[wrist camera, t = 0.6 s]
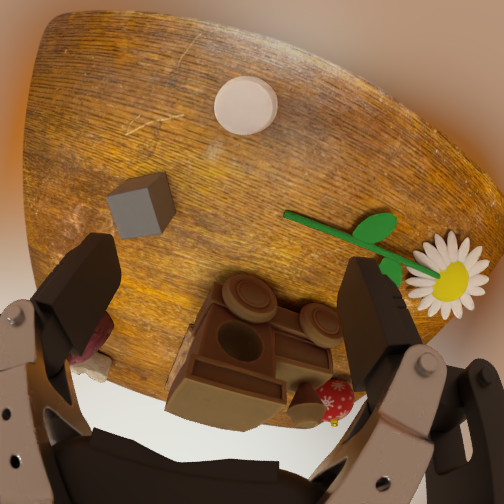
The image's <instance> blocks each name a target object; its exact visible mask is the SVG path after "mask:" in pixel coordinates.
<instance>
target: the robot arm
mask: <svg viewBox="0 0 504 504" xmlns="http://www.w3.org/2000/svg"><path fill="white" fill-rule="evenodd" d="M120 282H121V268H120V264H119V260H118V256H117V251H116V247H115V242H114V239H113V237H112V235H111V234H104V233H90V234H89V235H88V236H87V237H86V238H85V239H84V240H83V241H82V243H81V244H80V245H79V246H77V247H76V248H74V249H73V250H71V251H70V252H68V253H67V254H66V255H65V256H64V258H63V259H62V260H61V261H60V262H59V264H58V265H57V266H56V267H55V268H54V269H53V272H51V273H50V274H49V276H48V277H47V278H46V279H45V281H44V282H43V283H42V284H41V286H40V287H39V288H38V290H37V291H36V292H35V293H34V295H33V296H32V298H31V299H30V300H26V299H25V300H24V299H21V300H17V301H15V302H13V303H11V304H10V305H8V306H7V307H6V308H5V309H4V311H3V312H2V314H0V504H409V503H410V502H411V500H412V498H413V496H414V494H415V492H416V490H417V488H418V486H419V484H420V482H421V480H422V478H423V476H424V474H425V476H426V489H427V504H504V389H503V386H502V383H501V380H500V378H499V375H498V373H497V371H496V369H495V368H494V367H493V365H492V364H491V363H489V362H488V361H486V360H484V359H475V360H473V361H472V362H471V363H470V364H469V366H468V367H467V368H466V369H462V368H457V367H452V366H448V365H446V364H445V362H444V359H443V358H442V356H441V355H440V354H439V353H438V352H437V351H436V350H435V349H433V348H432V347H429V346H427V345H423V343H422V341H421V338H420V336H419V334H418V331H417V329H416V326H415V324H414V322H413V319H412V317H411V315H410V313H409V310H408V309H406V307H407V306H406V304H405V302H404V299H402V295H401V293H400V291H399V289H398V287H397V285H396V284H395V283H394V282H393V281H392V280H391V279H390V278H389V277H388V276H387V275H386V274H382V273H381V270H380V268H379V266H378V264H377V262H376V260H375V259H374V258H365V257H355V256H353V257H351V258H350V260H349V263H348V266H347V269H346V272H345V275H344V278H343V280H342V283H341V286H340V289H339V292H338V297H337V310H338V315H339V319H340V324H341V328H342V333H343V338H344V342H345V347H346V352H347V357H348V362H349V368H350V373H351V379H352V384H353V390H354V392H361V391H366V392H367V397H368V399H367V400H366V401H365V402H364V404H363V405H362V407H361V409H360V411H359V412H358V414H357V415H356V417H355V419H354V420H353V422H352V424H351V425H350V427H349V428H348V430H347V431H346V433H345V434H344V436H343V437H342V439H341V440H340V442H339V443H338V444H337V446H336V447H335V449H334V450H333V451H332V452H331V453H330V454H329V455H328V456H327V457H326V458H325V460H324V461H323V462H322V463H321V464H320V465H319V467H318V468H317V469H316V470H315V471H314V473H313V474H312V475H311V476H310V477H309V479H306V478H304V477H302V476H299V475H297V474H295V473H292V472H289V471H286V470H281V469H279V461H254V460H240V459H239V460H238V459H223V460H213V461H201V462H183V463H182V462H176V461H173V460H171V459H168V458H167V457H164V456H162V455H160V454H158V453H156V452H154V451H152V450H150V449H149V448H147V447H144V446H143V445H141V444H139V443H137V442H136V441H134V440H131V439H127V438H124V437H121V436H118V435H115V434H112V433H109V432H106V431H103V430H100V429H98V428H95V427H94V428H93V431H91V429H90V427H89V425H88V423H87V421H86V420H85V418H84V417H83V415H82V413H81V411H80V408H79V404H78V401H77V397H76V393H75V389H74V385H73V380H72V376H71V371H70V366H69V363H68V361H67V359H66V358H67V356H68V354H69V353H70V354H73V355H76V356H79V357H82V355H83V353H84V351H85V349H86V347H87V345H88V343H89V341H90V339H91V337H92V335H93V333H94V331H95V329H96V327H97V325H98V323H99V321H100V320H101V318H102V316H103V314H104V312H105V310H106V309H107V307H108V305H109V303H110V301H111V300H112V298H113V296H114V294H115V293H116V291H117V289H118V287H119V285H120ZM466 419H467V423H468V427H469V431H470V436H471V441H472V447H473V454H472V457H471V459H470V461H469V462H467V460H466V456H465V450H464V444H463V439H462V434H461V429H460V424H461V423H462V422H464V421H465V420H466Z"/></svg>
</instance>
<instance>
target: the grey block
mask: <svg viewBox="0 0 504 504" xmlns="http://www.w3.org/2000/svg"><path fill="white" fill-rule="evenodd" d="M106 199H107V202H108V205H109V208H110V210H111V213H112V216H113V219H114V221H115V224H116V227H117V229H118V232H119V235H120V237H121V239H129V238H136V237H144V236H152V235H160V234H162V233H163V232H164V230H165V229H166V227H167V225H168V224H169V222H170V221H171V219H172V218H173V216H174V215H175V213H176V210H175V207H174V203H173V199H172V196H171V192H170V188H169V184H168V181H167V177H166V173H165V172H160V173H156V174H151V175H146V176H142V177H137V178H133V179H129V180H126V181H125V182H124V183H123V184H121V185H120V186H119V187H118V188H116V189H115V190H114V191H113V192H111V193H110V194H109V195H108V196H106Z"/></svg>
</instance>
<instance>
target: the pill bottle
mask: <svg viewBox="0 0 504 504" xmlns="http://www.w3.org/2000/svg"><path fill="white" fill-rule="evenodd" d="M277 110H278V99H277V96H276V94H275V92H274V90H273V88H272V87H271V86H270V85H269V84H268V83H267V82H265V81H264V80H262V79H260V78H257V77H254V76H239V77H236V78H233V79H231V80H229V81H228V82H226V83H225V84H224V85H223V86H222V87H221V89H220V90H219V92H218V94H217V96H216V99H215V103H214V111H215V115H216V118H217V120H218V122H219V123H220V125H221V126H222V127H223V128H224V129H226V130H227V131H229V132H231V133H234V134H237V135H250V134H254V133H258V132H260V131H262V130H264V129H265V128H267V127H268V126H269V125H270V124H271V123H272V122H273V120H274V118H275V116H276V114H277Z"/></svg>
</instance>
